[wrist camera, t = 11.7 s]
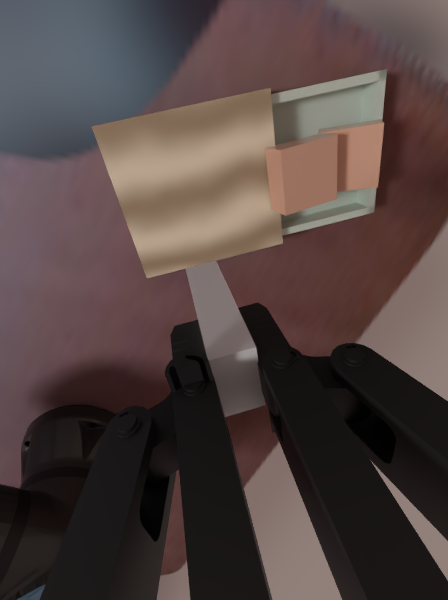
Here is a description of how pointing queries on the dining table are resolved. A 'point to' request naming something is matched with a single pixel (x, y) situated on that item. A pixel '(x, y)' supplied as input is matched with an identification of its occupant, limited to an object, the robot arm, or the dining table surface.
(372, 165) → the tile rear
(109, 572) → the robot arm
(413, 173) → the dining table surface
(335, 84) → the tray
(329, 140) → the tile front
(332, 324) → the dining table surface
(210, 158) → the board
